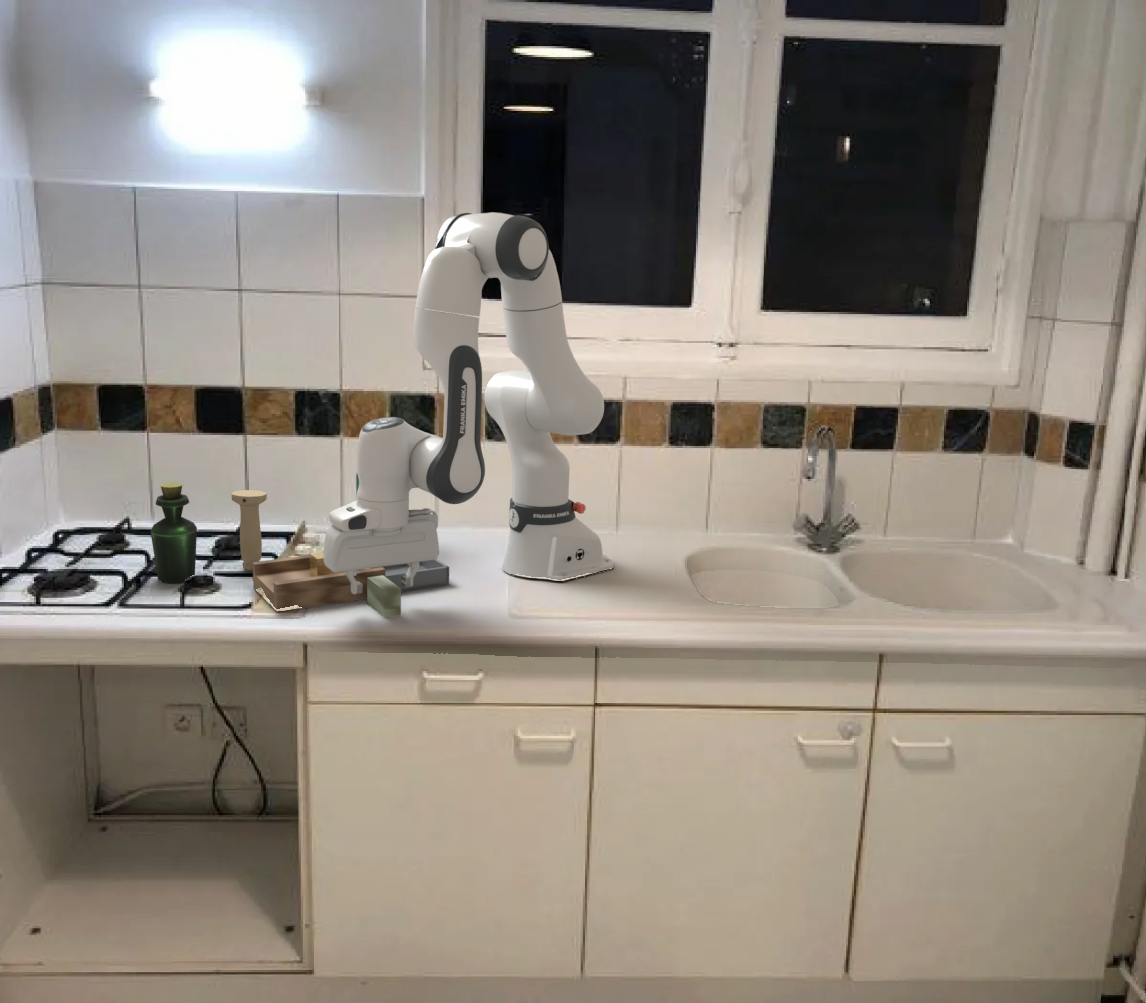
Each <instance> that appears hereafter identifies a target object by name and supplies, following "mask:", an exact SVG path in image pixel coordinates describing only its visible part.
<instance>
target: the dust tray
mask: <svg viewBox="0 0 1146 1003" xmlns="http://www.w3.org/2000/svg"><path fill="white" fill-rule="evenodd" d="M382 567H383V568H384V569H385V577H386V578H387V579H389V580H390V581H391V582H393V583H394V584H395V585H397V586H398V587H399V588H401V593H405V592H411V591H417V590H423V589H429V588H430V589H431V588H436V587H437V588H438V587H443V586H449V585H450V566H448V565H447V564H446V563H444V562H442V561H441V560H439V559H437V558H436V559H435V560H429V561H422V562H420V564H419V569H418V571H417V573H416V574H415V576H414V577H413V586H410V587H404V586H402V575H406V573H407V571H408V569H409V567H410V566H409V565H408V564H407V563H406V564H398V565H390V566H382ZM374 568H379V567H374ZM370 569H372V568H370Z"/></svg>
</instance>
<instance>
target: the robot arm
mask: <svg viewBox="0 0 1146 1003" xmlns="http://www.w3.org/2000/svg"><path fill="white" fill-rule="evenodd" d="M435 242H436V243H435V249H434V250H432V251H431V252H430V253H429V254H428V256H427V258H426V261H425V264H424V266H423V268H422V274H421V277H420V280H419V284H418V289H417V294H416V302H415V309H414V314H413V316H414V317H413V325H412V326H413V328H412V329H413V341H414V342H413V343H414V345H415V347H416V350H417V351H418V353H419V355H420V356H421V358H422V359H423V360H425V361H426V363H427V364H428V365H429V366H430V367H431V368H432V369H433V370H434V371H435V373H436V375H437V376H438V378H439V380H440V381H441V385H442V387H443V392H444V393H443V394H444V403H443V404H444V406H443V408H444V409H443V432H442V437H441V436H438V435H436V434H431V433H429V432H425V431H423V430H420V429H419V428H416V427H415V426H412V425H411V424H409V423H408V422H406V421H405V419H403V418H401V417H397V416H390V417H389V416H388V417H379V418H375V419H372V420H370V421H368V422H367V423H365V424H364V425H363V426H362V428H361V430H360V432H359V436H358V442H357V448H356V449H357V452H356V473H357V474H358V477H359V488H358V491H357V500H354V501H351V502H350V503H347V504H345V505H343V506H340V507H338V508H335V509H333V510H331V511H330V512H329V513H328V521H329V522H330V523H331V526H329V527H328V529H327V530H326V532H325V536H324V544H323V551H324V564H325V566H326V567H327V568H328V569H330V570H331V571H332V572H343V571H344V573H345V575H346V577H347V578H348V580H349V581H350V582H351V592H352V593H353V594H359V593H362V592H363V590H362V588H363V584H362V583H360V582H359V581H356V580H355V578H354V577H353V575H354V576H356V575H357V570H359V569H367V568H374V567H382V566H390V565H398V564H406V563H407V564H408V565H409V566H410V567H409V569H408V571H407V573H406V575H402V586H404V587H410V586H413V577H414V576H415V574H416V573H417V571H418V569H419V564H420V562H422V561H429V560H435V559H437V557H438V556H439V554H440V550H439V546H440V545H439V537H438V530H437V529H438V526H439V516H438V514H437V512H436V511H434V510H432V509H431V508H429V507H428V508H427V507H426V508H421V509H417V508H415V509H410V491H411V490H412V489H417V488H418V489H420V490H422V491H424V492H427V493H429V494H432V495H433V496H434V497H435V498H438V499H439V500H440V501H442V502H443V503H445V504H450V505H458V504H462V503H465V502H467V501H469V500H470V499H472V498H473V497H474V496H475V495H476V494H477V493H478V492H479V490H480V489H481V487H482V485H483V482H484V480H485V476H486V463H485V459H484V455H483V450H482V444H481V433H482V432H481V428H482V400H483V399H482V398H483V370H482V369H483V368H482V363H481V362H482V361H481V357H480V353H479V352H480V350H479V326H480V317H481V308H482V290H483V288H484V285H485V283H486V282H487V280H488V279H493V278H496V279H498V280H499V282H500V292H501V305H502V312H503V321H504V322H503V323H504V328H505V329H504V330H505V337H506V338H505V339H506V344H507V347H508V348H509V350H510V352H511V353H512V354H513V355H514V356H515V357H516V358H518V359H519V360H520V361H521V363H522V364H523V365H524V366H525V367H526V369H527V370H523V369H515V370H507V371H505V370H504V371H499V372H497V373H495V374H494V375H493V376H492V377H491V378H490V380H489V381H488V383H487V385H486V388H485V391H484V406H485V408H486V411H487V412H488V414H489V415H490V417H491V418H492V419H493V420H494V421H495V422H496V424H497V425H498V426H499V428H500V430H501V432H502V434H503V436H504V438H505V441H506V443H507V447H508V451H509V455H510V460H511V480H512V481H511V482H512V484H511V486H512V487H511V494H512V495H511V496H512V497H511V498H510V500H509V508H508V509H509V515H508V518H509V528H510V529H509V534H508V535H509V536H508V543H507V548H506V553H505V557H504V559H503V563H502V566H501V568H502V570H503V571H504V572H505V573H507V574H509V575H511V574H519V575H525V576H531V577H546V578H551V579H557V580H562V579H566V578H571V577H576V576H578V575H583V574H586V573H594V572H599V571H602V570H606V569H610V568H613V569H614V562H613V561H612V559H611V558H609V557H608V556H606V555H604V554H603V547H602V546H603V545H602V542H601V538H600V537H599V536H598V534H597V533H596V532H595V531H593V530H592V529H591V528H590V527H588V526H587V525H586V524H584V523H583V522H582V521H581V520H580V519H578V518H577V516H576V513H578V514H580V515H581V514H582V515H583V514H585V511H586V509H587V507H586V505H585V504H584V503H581V502H580V501H576V502H575V501H573V500H571V499H570V498H569V495H570V494H569V490H570V488H569V487H570V486H569V485H570V469H571V468H570V464H569V460H568V458H567V457H566V455H565V454H564V453H563V452H561V451H560V450H559V449H558V447H557V446H556V444H555V442H554V440H553V438H552V434H557V435H562V436H579V435H587V434H590V433H592V432H594V431H595V429H597V427H599V425H600V423H601V421H602V419H603V416H604V412H605V402H604V397H603V394H602V392H601V390H600V388H599V387H598V386H597V385H596V384H594V383H593V382H592V381H591V380H590V379H589V378H588V377H587V376H586V374H585V373H584V372H583V370H582V368H581V367H580V365H579V364H578V362H577V360H576V358H575V356H574V354H573V351H572V350H571V347H570V344H569V341H568V336H567V335H568V334H567V332H566V331H567V330H566V323H565V316H564V306H563V297H562V290H561V284H560V278H559V274H558V271H557V266H556V262H555V259H554V257H553V254H552V252H551V250H550V247H549V241H548V237H547V233H546V232H545V229H544V228H543V226H542V225H541V224H540V223H539V222H538V221H537V220H534V219H532V218H531V217H528V216H524V215H520V214H518V215H512V214H510V213H509V214H508V213H503V212H493V211H492V212H483V213H469V212H463V213H458V214H455V215H452V216H450V217H449V218H447V219H446V220H445V221H444V222H443V224H442V225H441V226H440V229H439V231H438V234H437V237H436V241H435ZM551 433H552V434H551ZM575 512H576V513H575ZM599 573H600V572H599Z"/></svg>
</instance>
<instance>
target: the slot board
mask: <svg viewBox="0 0 1146 1003" xmlns="http://www.w3.org/2000/svg"><path fill="white" fill-rule="evenodd" d="M382 575H383V576H385V569H384V568H383V567H379V568H372V569H370V568H367V569H365V570H358V571H357V575H356V576H354V575H353V577H354V578H355V580H356V581H359V582H360V583H362V584H363V588H362V590H363V592H362V593H359V594H353V593H352V592H351V582H350V581H349V580H348V578H347V577H346V575H345V573H337V574H330V575H323V576H315V577H313V576H312V575H311V574H310V554H308V555H299V556H298V555H297V556H290V557H284V558H276V559H269V560H262V561H261V560H260V561H259V562H253V570H252V582H253V583H252V584H253V586H252V587H253V589H254V591H256V589H258V588H260V587H261V588H262V589H263V591H264V593H265V595H266V597H267V598H268V599H269V600H270V602H271V603H272V604H273V606H274V607H275V608H276V609H280V608H285V607H290V606H294V605H298V606H299V607H302V609H307V608H314V607H319V606H320V607H321V606H327V605H334V604H340V603H347V602H352V601H359V600H365V599H367V578H368V577H375V576H382Z"/></svg>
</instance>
